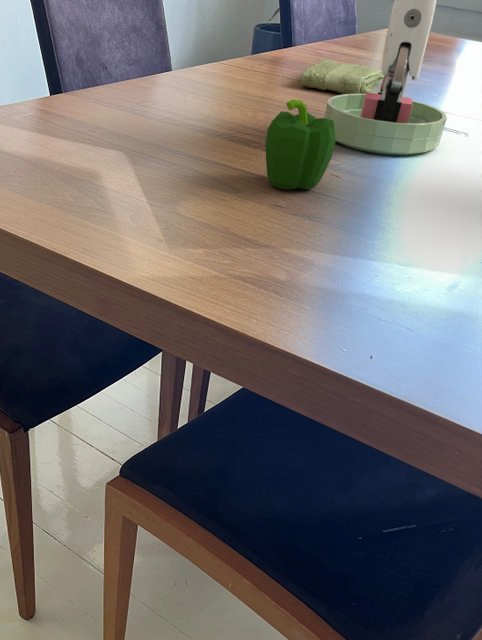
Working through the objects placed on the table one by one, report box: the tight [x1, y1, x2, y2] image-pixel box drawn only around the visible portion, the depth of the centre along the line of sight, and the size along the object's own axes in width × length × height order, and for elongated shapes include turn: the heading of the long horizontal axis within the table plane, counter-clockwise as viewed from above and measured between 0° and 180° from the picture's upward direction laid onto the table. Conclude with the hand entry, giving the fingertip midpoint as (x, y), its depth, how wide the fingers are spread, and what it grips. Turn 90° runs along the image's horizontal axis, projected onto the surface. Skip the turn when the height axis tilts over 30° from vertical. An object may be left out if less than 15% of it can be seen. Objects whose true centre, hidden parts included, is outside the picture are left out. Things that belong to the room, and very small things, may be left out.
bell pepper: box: [264, 99, 337, 190], centre depth 88 cm, size 8×8×10 cm
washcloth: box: [300, 59, 384, 95], centre depth 138 cm, size 13×18×3 cm
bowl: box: [323, 93, 448, 156], centre depth 109 cm, size 17×17×4 cm
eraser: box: [361, 92, 413, 123], centre depth 106 cm, size 6×4×4 cm, turn 76°
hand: (382, 125), depth 107 cm, fingers closed on eraser, 4 cm apart
